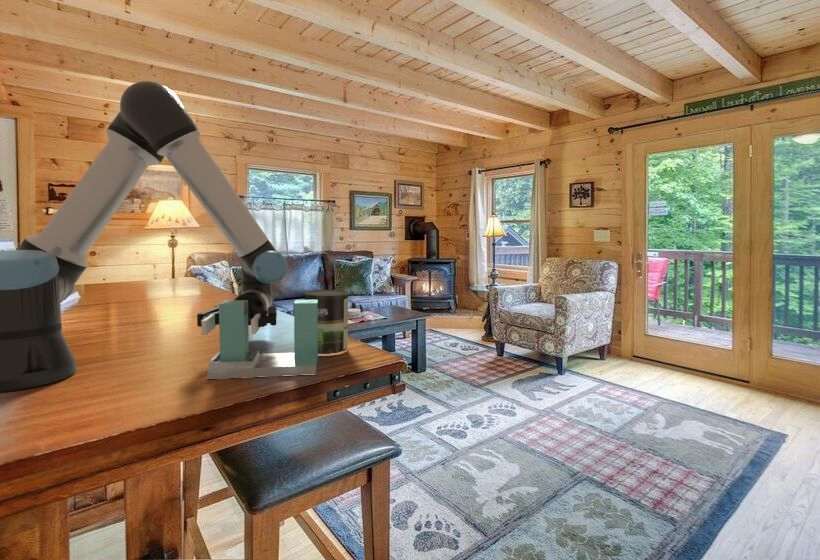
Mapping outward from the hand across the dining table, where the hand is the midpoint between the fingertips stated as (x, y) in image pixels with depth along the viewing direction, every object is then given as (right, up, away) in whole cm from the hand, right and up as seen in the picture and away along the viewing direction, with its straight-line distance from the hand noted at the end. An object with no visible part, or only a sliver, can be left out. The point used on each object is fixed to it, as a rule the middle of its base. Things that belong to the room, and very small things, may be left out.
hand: (228, 327), depth 81 cm
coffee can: (+14, -8, +22) cm, 27 cm away
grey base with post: (+5, -9, +7) cm, 13 cm away
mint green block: (-1, -7, +6) cm, 9 cm away
